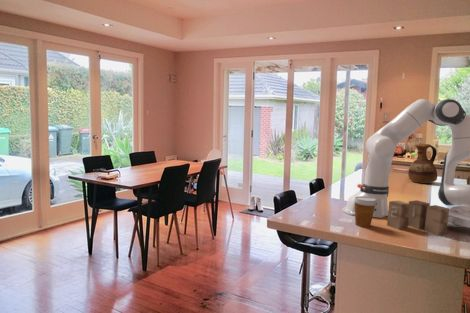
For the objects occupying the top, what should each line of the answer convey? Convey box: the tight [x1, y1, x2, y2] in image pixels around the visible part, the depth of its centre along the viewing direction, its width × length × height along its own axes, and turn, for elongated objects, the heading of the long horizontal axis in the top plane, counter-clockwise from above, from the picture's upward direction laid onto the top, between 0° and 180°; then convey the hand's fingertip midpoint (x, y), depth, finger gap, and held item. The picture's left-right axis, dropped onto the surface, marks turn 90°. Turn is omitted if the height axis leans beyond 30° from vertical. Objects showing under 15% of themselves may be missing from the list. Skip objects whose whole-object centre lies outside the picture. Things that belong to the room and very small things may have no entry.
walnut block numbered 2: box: [386, 200, 410, 230], centre depth 164 cm, size 6×6×11 cm
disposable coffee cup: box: [354, 196, 376, 228], centre depth 164 cm, size 10×10×12 cm
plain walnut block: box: [424, 204, 450, 236], centre depth 159 cm, size 6×6×11 cm
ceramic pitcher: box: [407, 143, 438, 184], centre depth 287 cm, size 20×20×30 cm
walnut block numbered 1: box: [408, 200, 431, 230], centre depth 167 cm, size 6×6×11 cm
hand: (441, 219), depth 160 cm, fingers closed
